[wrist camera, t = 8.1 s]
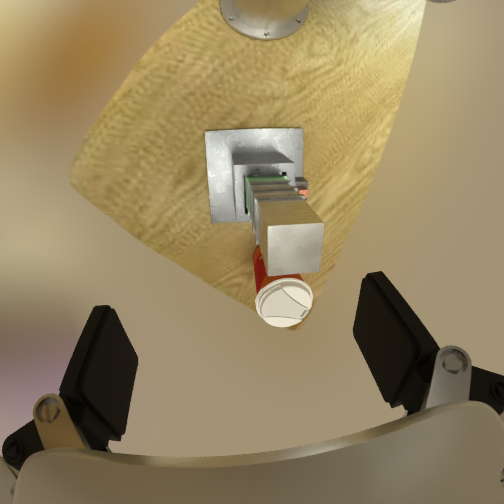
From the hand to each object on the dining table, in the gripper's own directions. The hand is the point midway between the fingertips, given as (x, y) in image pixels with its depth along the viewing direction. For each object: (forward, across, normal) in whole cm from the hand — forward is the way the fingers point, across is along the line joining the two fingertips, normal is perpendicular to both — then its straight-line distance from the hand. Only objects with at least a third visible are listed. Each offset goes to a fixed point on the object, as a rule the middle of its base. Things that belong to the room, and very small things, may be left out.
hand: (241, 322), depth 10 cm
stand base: (+34, -4, +3) cm, 34 cm away
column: (+28, -4, +3) cm, 28 cm away
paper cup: (+34, -5, +17) cm, 39 cm away
